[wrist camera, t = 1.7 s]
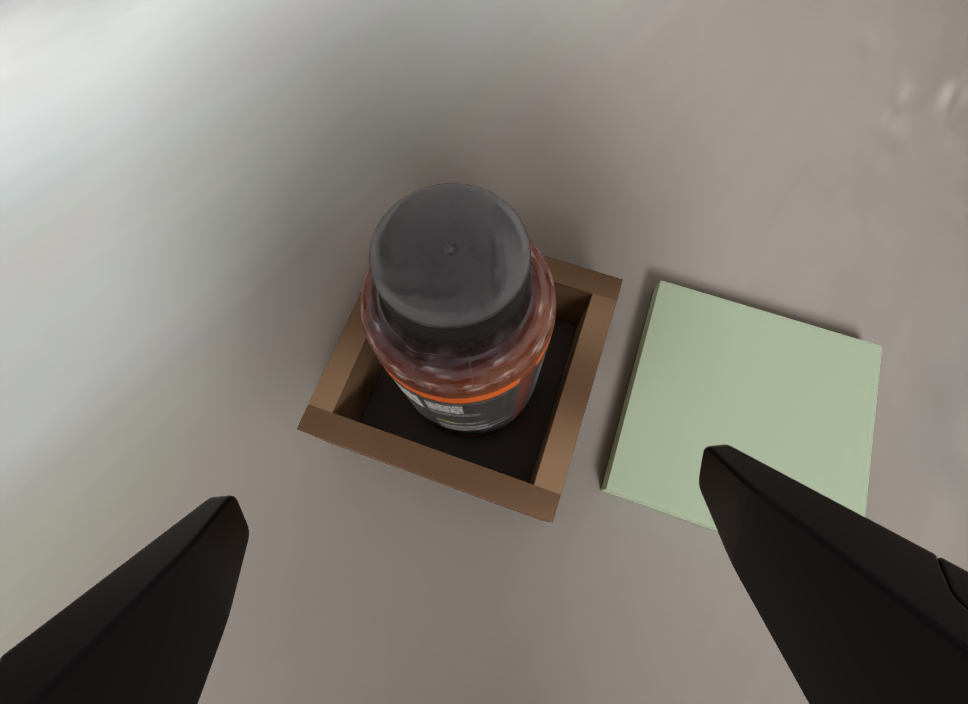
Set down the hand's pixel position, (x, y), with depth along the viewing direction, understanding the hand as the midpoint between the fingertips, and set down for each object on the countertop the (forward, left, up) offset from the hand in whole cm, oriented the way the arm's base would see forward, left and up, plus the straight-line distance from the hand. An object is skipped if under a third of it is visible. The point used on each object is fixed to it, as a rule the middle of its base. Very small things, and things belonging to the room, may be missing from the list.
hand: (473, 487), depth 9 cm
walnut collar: (+5, +2, -12) cm, 13 cm away
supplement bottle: (+5, +2, -12) cm, 13 cm away
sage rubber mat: (+7, -10, -12) cm, 17 cm away
